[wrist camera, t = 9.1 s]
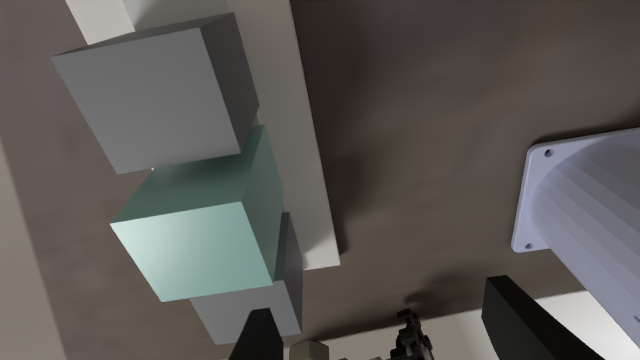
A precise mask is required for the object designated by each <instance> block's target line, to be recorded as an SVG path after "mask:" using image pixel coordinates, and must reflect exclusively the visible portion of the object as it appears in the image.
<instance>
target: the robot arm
mask: <svg viewBox="0 0 640 360" xmlns="http://www.w3.org/2000/svg"><path fill="white" fill-rule="evenodd" d="M548 149H550V150H549V152H548V153H546V154H545V152H546V151H547V150H548ZM511 247H512V249H513V250H514V251H515V252H526V251H534V250H541V249H548V248H550V249H551V250H552V251H553V252H554V253H555V254H556V255H557V256H558V258H559V259H560V260H561V261H562V262H563V263H564V264H565V265H566V267H567V268H568V269H569V270H570V271H571V272H572V273H573V274H574V276H575V277H576V278H577V279H578V280H579V281H580V282H581V283H582V285H583V286H584V287H585V288H586V289H587V290H588V291H589V292H590V293H591V295H593V297H594V298H595V299H596V300H597V301H598V302H599V304H600V305H601V306H602V307H603V308H604V309H605V310H606V311H607V312H608V314H609V315H610V316H611V317H612V318H613V319H614V320H615V322H616V323H617V324H618V325H619V326H620V327H621V328H622V329H623V331H624V332H626V334H627V335H628V336H629V337H630V338H631V340H632V341H633V342H634V343H635V344H636V345H637V346H638V347H639V349H640V127H638V128H632V129H626V130H620V131H614V132H608V133H601V134H595V135H589V136H583V137H577V138H571V139H564V140H558V141H552V142H546V143H540V144H536V145H533V146H532V147H531V148H530V149H529V150H528V153H527V157H526V163H525V169H524V174H523V180H522V186H521V191H520V197H519V203H518V208H517V214H516V219H515V225H514V231H513V236H512V242H511ZM481 318H482V320H483V323H484V325H485V328H486V331H487V333H488V336H489V337H490V340H491V343H492V345H493V347H494V350H495V352H496V354H497V356H498V358H499V359H500V360H605V359H604V358H603V357H601V356H600V355H599V354H597V353H596V352H595V351H594V350H592V349H591V348H590V347H589V346H587V345H586V344H585V343H584V342H582V341H581V340H580V339H579V338H578V337H576V336H575V335H574V334H573V333H572V332H570V331H569V330H568V329H567V328H566V327H564V326H563V325H562V324H561V323H560V322H558V321H557V320H556V319H555V318H554V317H553V316H551V315H550V314H549V313H548V312H547V311H546V310H545V309H544V308H542V307H541V306H540V305H539V304H538V303H537V302H536V301H535V300H533V299H532V298H531V297H530V296H529V295H528V294H527V293H526V292H525V291H524V290H522V289H521V288H520V287H519V286H518V285H517V284H516V283H515V282H514V281H513V280H512V279H510V278H509V277H508V276H507V275H502V276H495V277H488V278H486V286H485V293H484V301H483V308H482V316H481ZM228 360H283V341H282V338H281V336H280V333H279V331H278V328H277V326H276V323H275V320H274V318H273V315H272V313H271V310H270V308H263V309H255V310H252V311H251V312H250V313H249V315H248V318H247V320H246V322H245V325H244V327H243V329H242V332H241V334H240V336H239V338H238V340H237V343H236V345H235V347H234V349H233V351H232V353H231V355H230V357H229V359H228Z"/></svg>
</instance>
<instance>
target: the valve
mask: <svg viewBox="0 0 640 360" xmlns="http://www.w3.org/2000/svg"><path fill="white" fill-rule="evenodd" d="M397 317H398V320H399V322H402V321H405V322H406V324H407V325H406V328H403V329H400V330H399V335H398V337H397V339H396V348H395V349H392V350H391V351H390V356H391V358H390V359H387V360H434V357H433V355H432V352H431V350H432V345H431V342H430V340H429V338H428V336H427V335H423V333H422V331H421V323H420V321H419V318H418V316H417V315H416V313H413V314H412V312H411V310H410V309H409V308H407V309H404V310H401V311H399V312H397ZM289 360H329V347H328V346H327V345H325V344H323V343H321V342H314V341H311V340H307V341H305V342H302V343H299V344H297V345H294V346H291V347H290V351H289ZM340 360H348V359H346V358H343V359H340ZM370 360H382V359H381V358H380V357H376V358H373V359H370Z"/></svg>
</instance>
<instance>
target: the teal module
mask: <svg viewBox="0 0 640 360" xmlns="http://www.w3.org/2000/svg"><path fill="white" fill-rule="evenodd" d="M283 197H284V189H283V186H282V182H281V179H280V176H279V172H278V169H277V165H276V162H275V158H274V155H273V151H272V148H271V145H270V141H269V138H268V134H267V131H266V127H265V124H264V125H258V126H253V127H251V129H250V132H249V134H248V137H247V139H246V142H245V145H244V147H243V150H242V152H241V153H239V154H233V155H227V156H221V157H216V158H210V159H204V160H198V161H192V162H186V163H180V164H174V165H169V166H163V167H157V168H154V169H153V171H152V172H151V173H150V174H149V176H148V177H147V178H146V179H145V180H144V182H143V183H142V184H141V185H140V187H139V188H138V189H137V190H136V192H135V193H134V194H133V195H132V196H131V198H130V199H129V200H128V201H127V203H126V204H125V205H124V206H123V208H122V209H121V210H120V211H119V213H118V214H117V215H116V216H115V217H114V219H113V220H112V221H111V222H110V226H111V227H112V229H113V230H114V232H115V233H116V235H117V236H118V238H119V239H120V241H121V242H122V244H123V245H124V247H125V248H126V250H127V251H128V253H129V254H130V255H131V257H132V258H133V260H134V261H135V263H136V264H137V266H138V267H139V269H140V270H141V272H142V273H143V275H144V276H145V278H146V279H147V281H148V282H149V284H150V285H151V287H152V288H153V290H154V291H155V293H156V294H157V296H158V297H159V299H160V300H161V302H165V301H171V300H178V299H185V298H191V297H198V296H205V295H211V294H218V293H225V292H231V291H238V290H245V289H251V288H258V287H265V286H271V285H273V282H274V274H275V265H276V257H277V248H278V239H279V231H280V222H281V214H282V205H283Z"/></svg>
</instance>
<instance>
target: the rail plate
mask: <svg viewBox="0 0 640 360" xmlns="http://www.w3.org/2000/svg"><path fill="white" fill-rule="evenodd" d="M66 2H67V4H68V6H69V8H70V10H71V12H72V14H73V16H74V18H75V20H76V22H77V24H78V26H79V28H80V30H81V32H82V34H83V36H84V38H85V40H86V42H87V43H88V45H87V46H84V47H81V48H78V49H74V50H71V51H68V52H65V53H61V54H58V55H55V56H51V57H50V59H51V60H52V62H53V64H54V66H55V67H56V69H57V71H58V72H59V74H60V76H61V78H62V79H63V81H64V83H65V85H66V86H67V88H68V90H69V92H70V93H71V95H72V97H73V98H74V100H75V102H76V104H77V105H78V107H79V109H80V111H81V112H82V114H83V116H84V118H85V119H86V121H87V123H88V124H89V126H90V128H91V130H92V131H93V133H94V135H95V137H96V138H97V140H98V142H99V143H100V145H101V147H102V149H103V150H104V152H105V154H106V156H107V157H108V159H109V161H110V163H111V164H112V166H113V168H114V169H115V171H116V173H117V174H122V173H127V172H133V171H139V170H145V169H152V171H153V169H154V168H157V167H163V166H169V165H174V164H180V163H186V162H192V161H198V160H204V159H210V158H216V157H221V156H227V155H233V154H239V153H241V152H242V150H243V147H244V145H245V142H246V139H247V137H248V134H249V132H250V129H251V127H253V126H258V125H264V124H265V127H266V131H267V134H268V138H269V141H270V145H271V148H272V151H273V155H274V158H275V162H276V165H277V169H278V172H279V176H280V179H281V182H282V186H283V189H284V197H283V205H282V214H281V222H280V231H279V239H278V248H277V257H276V265H275V274H274V282H273V285H271V286H265V287H258V288H251V289H245V290H238V291H231V292H225V293H218V294H211V295H205V296H198V297H191V298H189V299H190V301H191V303H192V304H193V306H194V308H195V310H196V311H197V313H198V315H199V317H200V318H201V320H202V322H203V324H204V325H205V327H206V329H207V330H208V332H209V334H210V336H211V337H212V339H213V341H214V343H215V344H216V345H220V344H227V343H235V342H237V340H238V338H239V336H240V334H241V332H242V329H243V327H244V325H245V322H246V320H247V318H248V315H249V313H250V312H251V311H252V310H255V309H263V308H270V310H271V313H272V315H273V318H274V320H275V323H276V326H277V328H278V331H279V333H280V336H288V335H296V334H302V289H303V270H308V269H315V268H322V267H329V266H336V265H340V258H339V252H338V247H337V242H336V237H335V231H334V226H333V221H332V216H331V211H330V206H329V201H328V195H327V190H326V185H325V180H324V175H323V170H322V165H321V159H320V154H319V149H318V144H317V139H316V134H315V129H314V123H313V118H312V113H311V108H310V103H309V98H308V93H307V88H306V82H305V77H304V72H303V67H302V62H301V57H300V52H299V46H298V41H297V36H296V31H295V26H294V21H293V16H292V10H291V5H290V0H66Z"/></svg>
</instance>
